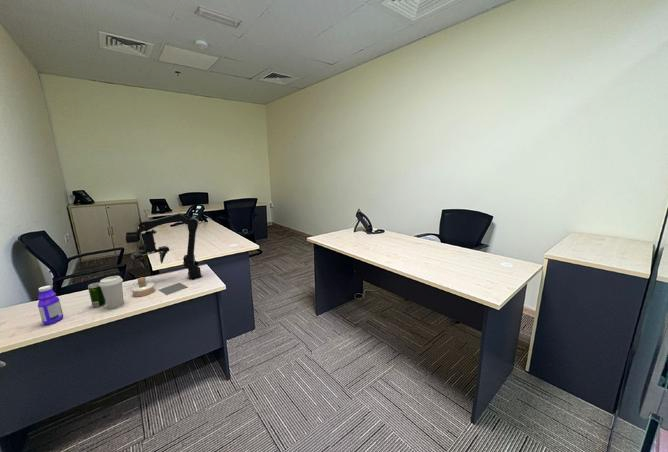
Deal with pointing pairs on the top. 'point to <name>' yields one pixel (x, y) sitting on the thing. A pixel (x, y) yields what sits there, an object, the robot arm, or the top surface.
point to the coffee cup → (112, 291)
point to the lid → (142, 285)
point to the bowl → (143, 292)
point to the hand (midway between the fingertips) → (153, 265)
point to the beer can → (96, 295)
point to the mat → (172, 288)
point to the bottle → (49, 305)
